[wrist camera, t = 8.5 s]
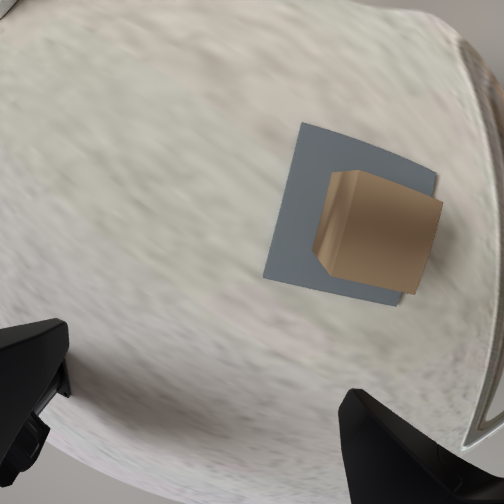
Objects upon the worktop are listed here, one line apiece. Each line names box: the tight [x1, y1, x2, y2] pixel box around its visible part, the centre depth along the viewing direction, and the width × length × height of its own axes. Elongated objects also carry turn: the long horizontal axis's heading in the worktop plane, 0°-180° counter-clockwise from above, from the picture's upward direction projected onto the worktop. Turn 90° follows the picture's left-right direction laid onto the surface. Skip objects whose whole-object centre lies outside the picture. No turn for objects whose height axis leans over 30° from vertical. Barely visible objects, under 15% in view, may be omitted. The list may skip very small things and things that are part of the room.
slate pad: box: [263, 122, 436, 306], centre depth 17 cm, size 10×10×1 cm
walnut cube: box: [312, 170, 443, 295], centre depth 15 cm, size 5×5×5 cm
